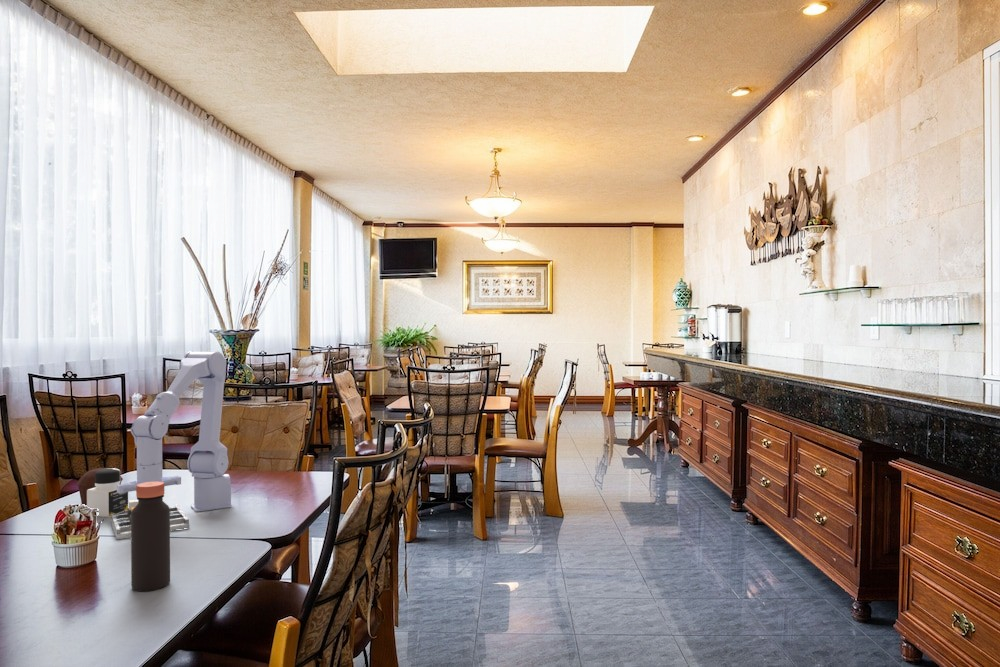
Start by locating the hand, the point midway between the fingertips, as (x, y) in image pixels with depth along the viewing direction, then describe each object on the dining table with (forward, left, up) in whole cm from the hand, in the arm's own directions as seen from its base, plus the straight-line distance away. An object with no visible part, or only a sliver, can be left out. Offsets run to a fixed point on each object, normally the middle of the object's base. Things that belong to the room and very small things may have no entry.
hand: (149, 517), depth 171 cm
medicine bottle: (+8, -23, -3) cm, 24 cm away
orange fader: (+3, 0, -2) cm, 3 cm away
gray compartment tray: (0, -4, -3) cm, 5 cm away
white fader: (+3, -8, -2) cm, 9 cm away
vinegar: (+5, +42, -3) cm, 42 cm away
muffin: (+9, -36, -3) cm, 37 cm away
